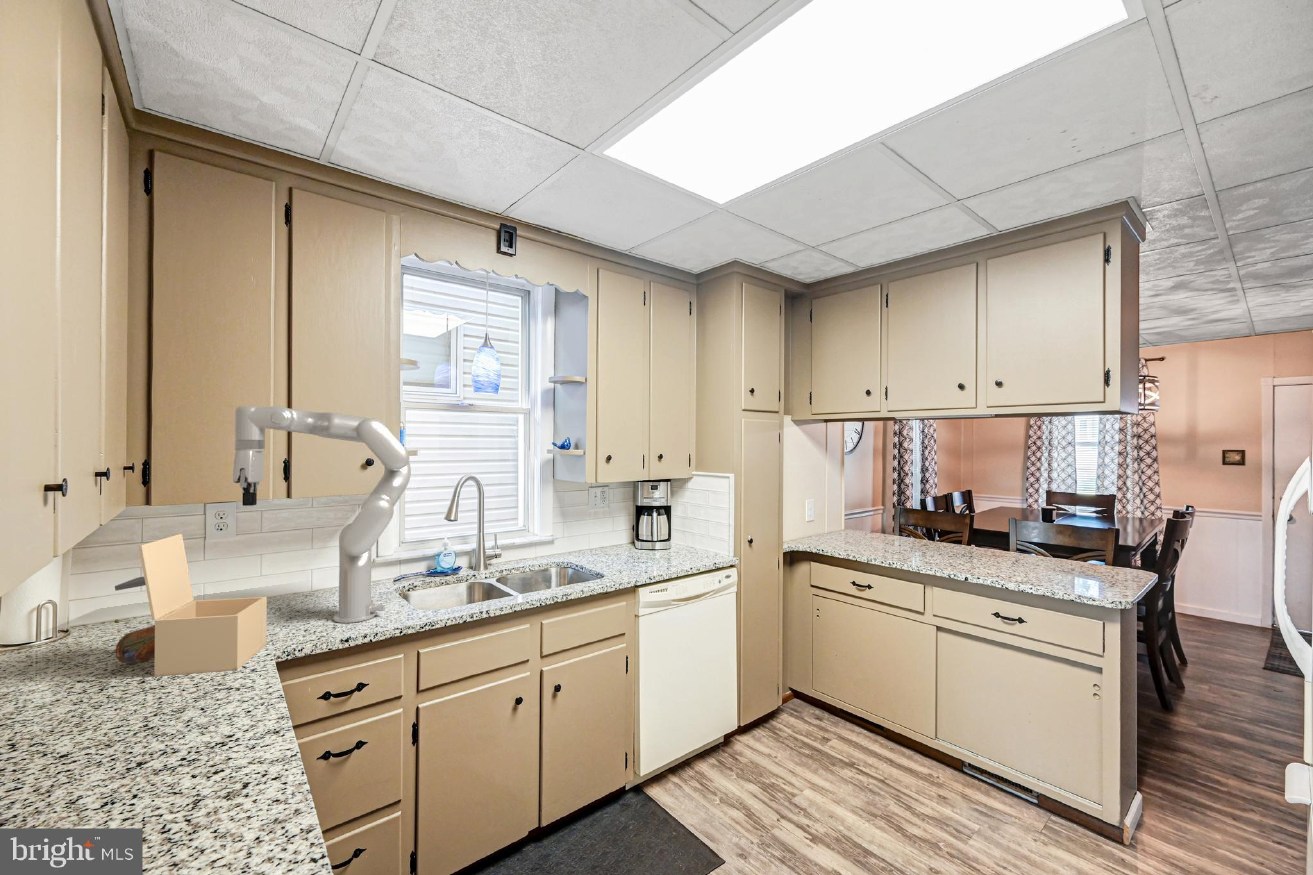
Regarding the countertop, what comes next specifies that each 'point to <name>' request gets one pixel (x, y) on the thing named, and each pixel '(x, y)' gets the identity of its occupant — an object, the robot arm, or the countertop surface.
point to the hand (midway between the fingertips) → (249, 505)
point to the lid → (163, 575)
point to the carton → (210, 636)
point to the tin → (137, 646)
